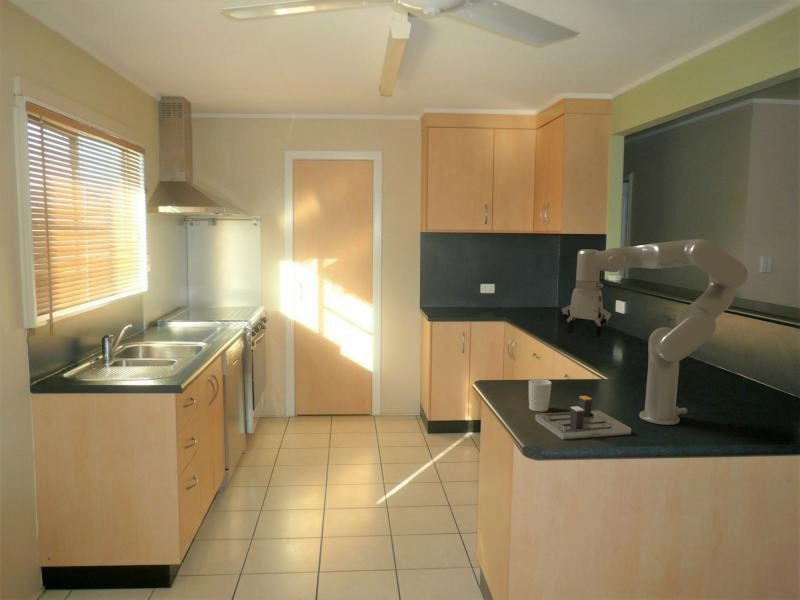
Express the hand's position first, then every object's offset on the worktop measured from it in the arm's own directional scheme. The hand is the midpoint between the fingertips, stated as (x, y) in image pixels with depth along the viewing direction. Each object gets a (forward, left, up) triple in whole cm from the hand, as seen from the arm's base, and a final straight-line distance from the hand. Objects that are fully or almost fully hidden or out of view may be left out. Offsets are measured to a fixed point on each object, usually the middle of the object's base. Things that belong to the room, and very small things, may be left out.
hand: (584, 335), depth 202 cm
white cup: (+12, -7, -28) cm, 31 cm away
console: (+7, +13, -28) cm, 32 cm away
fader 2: (+3, +8, -26) cm, 27 cm away
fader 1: (+12, +18, -26) cm, 34 cm away
